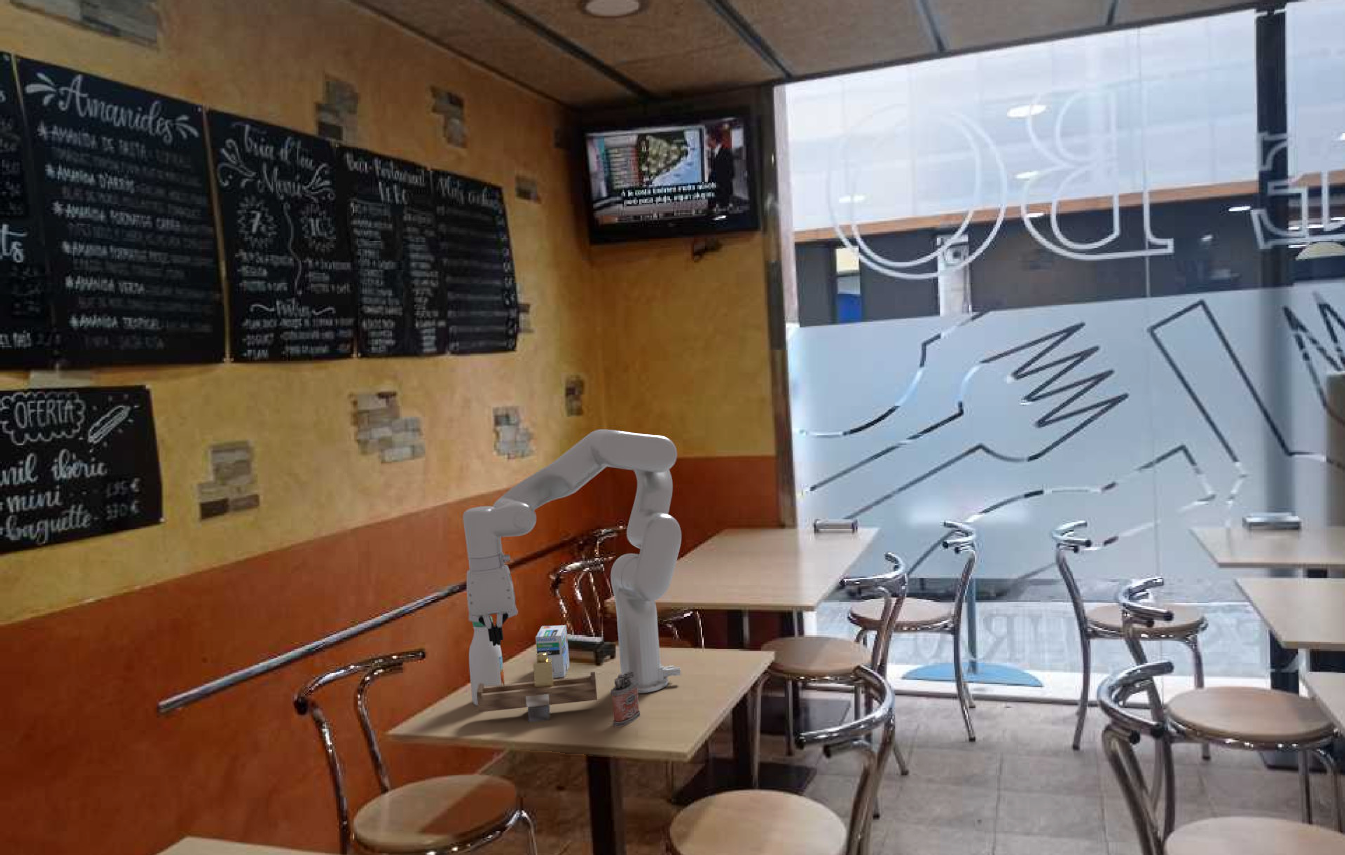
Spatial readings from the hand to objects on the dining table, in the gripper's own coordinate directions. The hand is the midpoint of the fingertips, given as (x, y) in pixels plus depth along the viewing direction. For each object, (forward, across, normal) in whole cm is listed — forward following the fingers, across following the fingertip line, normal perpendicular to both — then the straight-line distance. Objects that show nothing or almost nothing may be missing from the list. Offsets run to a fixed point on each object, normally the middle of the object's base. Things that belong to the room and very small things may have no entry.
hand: (497, 643), depth 221 cm
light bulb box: (+18, -10, -30) cm, 37 cm away
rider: (+12, -9, +1) cm, 15 cm away
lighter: (+18, -26, +10) cm, 33 cm away
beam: (+17, -7, +1) cm, 19 cm away
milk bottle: (+17, +5, -12) cm, 22 cm away
